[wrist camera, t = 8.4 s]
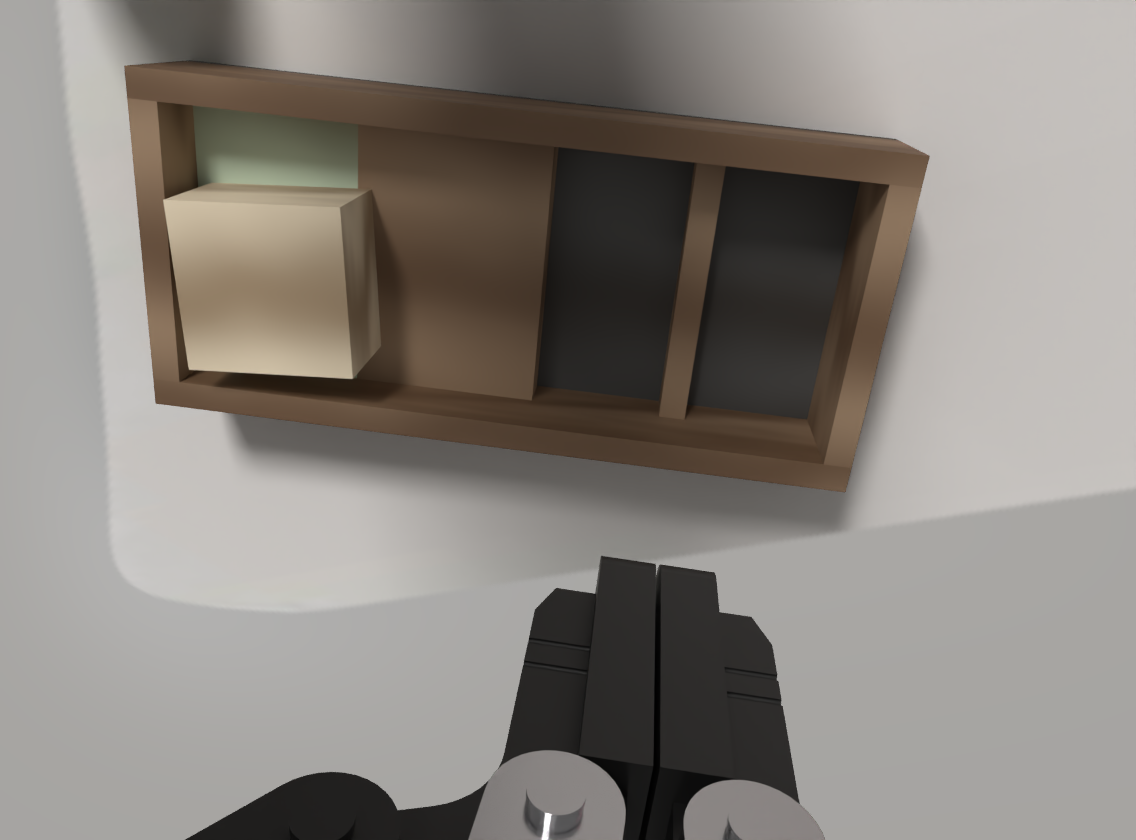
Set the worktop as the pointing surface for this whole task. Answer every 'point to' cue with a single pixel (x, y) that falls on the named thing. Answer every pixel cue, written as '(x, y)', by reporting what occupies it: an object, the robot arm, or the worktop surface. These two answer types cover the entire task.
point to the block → (276, 278)
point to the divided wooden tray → (556, 267)
